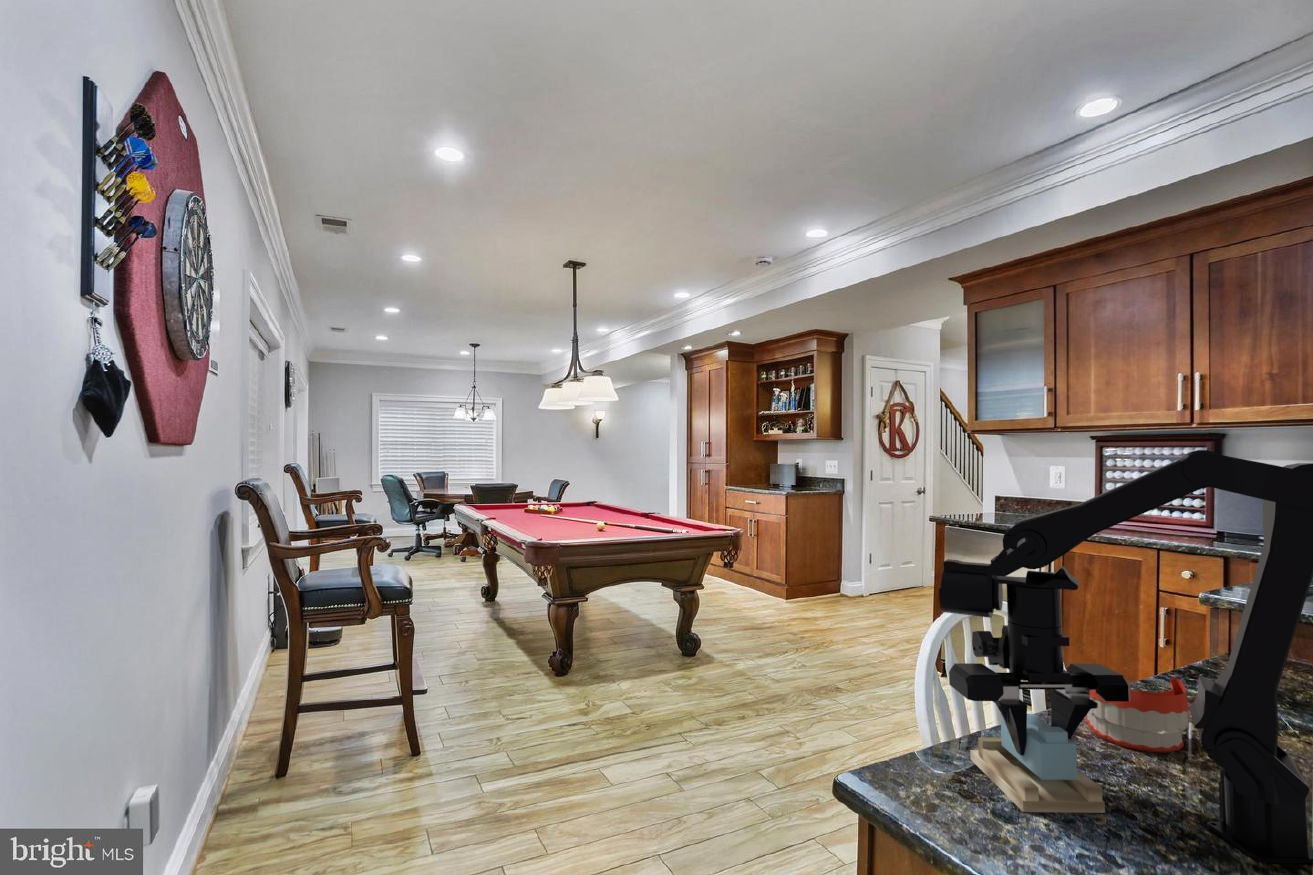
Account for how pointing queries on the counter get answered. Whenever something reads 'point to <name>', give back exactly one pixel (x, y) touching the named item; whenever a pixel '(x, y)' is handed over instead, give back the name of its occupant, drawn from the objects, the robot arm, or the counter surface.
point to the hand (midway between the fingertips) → (1038, 754)
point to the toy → (1143, 719)
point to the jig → (1035, 783)
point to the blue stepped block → (1044, 750)
